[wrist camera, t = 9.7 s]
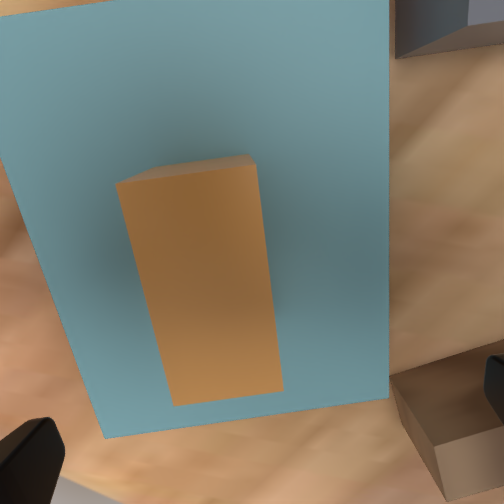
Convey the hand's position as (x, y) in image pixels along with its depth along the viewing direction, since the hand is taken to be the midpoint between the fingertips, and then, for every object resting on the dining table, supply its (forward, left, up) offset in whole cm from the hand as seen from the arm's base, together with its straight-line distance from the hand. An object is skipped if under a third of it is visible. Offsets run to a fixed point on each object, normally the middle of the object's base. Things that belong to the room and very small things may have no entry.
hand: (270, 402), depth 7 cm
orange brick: (0, +2, -9) cm, 9 cm away
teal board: (0, +2, -11) cm, 11 cm away
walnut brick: (-11, -11, -11) cm, 19 cm away
